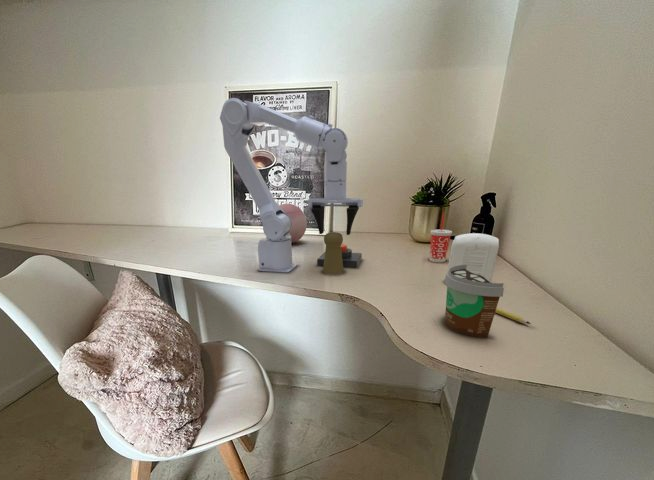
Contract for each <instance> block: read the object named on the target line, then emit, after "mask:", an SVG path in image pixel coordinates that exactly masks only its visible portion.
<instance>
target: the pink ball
mask: <svg viewBox="0 0 654 480" xmlns="http://www.w3.org/2000/svg"><path fill="white" fill-rule="evenodd" d="M278 205H279V206H280V207H281V208H282V210H283V211H284V212H285V213H286V214H287V215H288V216H289V217H290V218H291V220H292V228H291V230H290V231H289V234H290V235H291V244H295V243H296V242H298V241H299V240H301V239H302V237H303V236H305V233H306V230H307V226H308V223H307V222H308V221H307V217H306V214H305V213H304V211H303V210H302V209H301V208H300V207H299V206H297V205H295V204H293V203H282V204H281V203H280V204H278Z"/></svg>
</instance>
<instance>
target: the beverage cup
mask: <svg viewBox="0 0 654 480" xmlns="http://www.w3.org/2000/svg"><path fill="white" fill-rule="evenodd" d="M444 222H445V213H442V216H441V223H440V229H431V230H430V244H429V245H430V247H429V261H430V262H432V263H444V262H446V259H447V254H448V251H449V246H450V240H451V237H452V236H451V235H452V234H453V231H452V230H450V229H444Z"/></svg>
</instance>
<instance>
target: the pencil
mask: <svg viewBox="0 0 654 480" xmlns="http://www.w3.org/2000/svg"><path fill="white" fill-rule="evenodd" d="M495 314H498V315H500V316H503V317H506V318H507V319H511V320H513V321H516V322H517V323H521V324H528V325H531V322H530V321H528V320H527V319H526V318H525V317H522V316H519V315H517V314H514V313H513V312H509V311H506V310H504V309H502V308H499V307H497V308H496V311H495Z"/></svg>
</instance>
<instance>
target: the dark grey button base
mask: <svg viewBox="0 0 654 480" xmlns="http://www.w3.org/2000/svg"><path fill="white" fill-rule="evenodd" d="M324 258H325V251H324V252H323V253H322V254H321V255H320V256H319V257H318V258H317V259H316V266H317V267H323V265H324ZM362 259H363V254H362V253H361V252H353V250H352V249H351V248H348V247H347V251H346V252H342V261H343V268H347V269H348V268H349V269H358V266H359V265H360V264H361V262H362Z"/></svg>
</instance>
